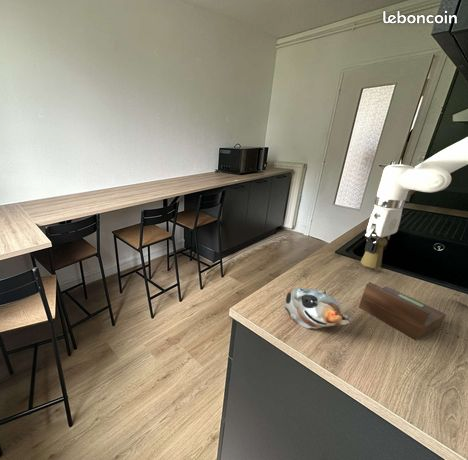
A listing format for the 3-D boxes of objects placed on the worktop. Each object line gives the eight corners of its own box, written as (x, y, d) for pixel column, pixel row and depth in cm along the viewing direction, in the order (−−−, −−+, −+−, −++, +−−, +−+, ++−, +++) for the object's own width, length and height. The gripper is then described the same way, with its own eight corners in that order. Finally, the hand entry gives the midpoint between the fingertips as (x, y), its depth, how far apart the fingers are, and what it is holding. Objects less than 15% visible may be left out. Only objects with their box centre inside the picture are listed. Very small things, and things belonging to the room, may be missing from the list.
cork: (359, 258, 98) (366, 232, 93) (379, 261, 95) (388, 235, 90) (361, 265, 93) (369, 238, 89) (382, 269, 90) (391, 241, 86)
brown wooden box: (382, 296, 81) (391, 272, 77) (440, 325, 69) (454, 299, 65) (358, 307, 77) (366, 282, 73) (415, 340, 65) (428, 313, 61)
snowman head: (342, 315, 74) (368, 296, 63) (325, 348, 69) (349, 334, 58) (293, 284, 81) (308, 263, 70) (274, 313, 76) (287, 294, 65)
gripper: (386, 210, 78) (371, 260, 85) (417, 201, 84) (401, 249, 91) (360, 204, 85) (348, 251, 92) (391, 196, 91) (377, 241, 98)
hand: (374, 249), depth 92 cm, fingers closed on cork, 5 cm apart
